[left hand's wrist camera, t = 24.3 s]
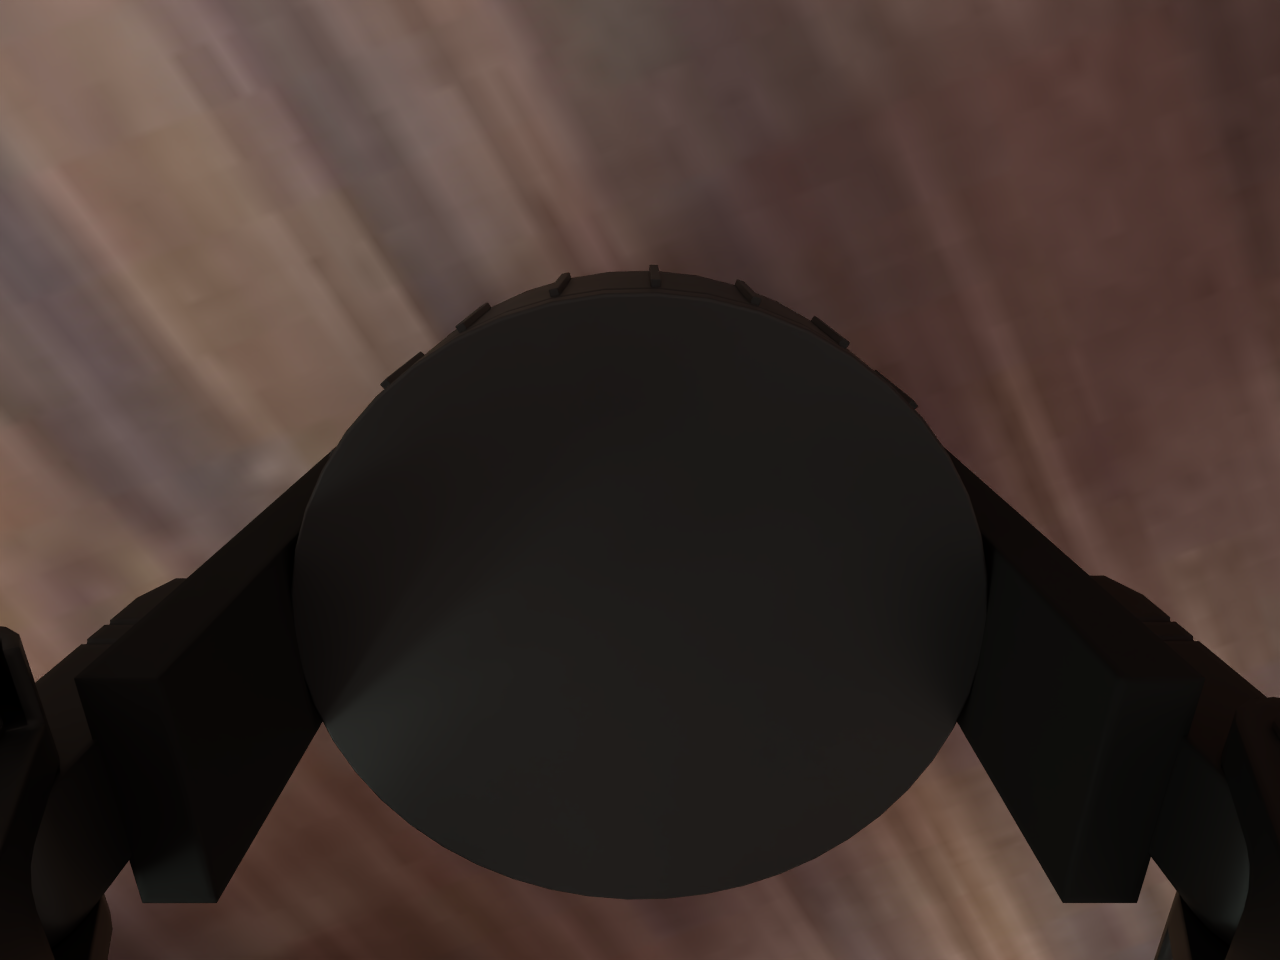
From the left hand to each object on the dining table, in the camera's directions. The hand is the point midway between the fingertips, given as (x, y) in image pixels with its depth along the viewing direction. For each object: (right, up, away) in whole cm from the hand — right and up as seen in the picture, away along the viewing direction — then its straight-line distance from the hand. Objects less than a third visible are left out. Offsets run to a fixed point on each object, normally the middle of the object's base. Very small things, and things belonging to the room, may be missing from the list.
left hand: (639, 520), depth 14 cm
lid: (0, -1, -3) cm, 4 cm away
